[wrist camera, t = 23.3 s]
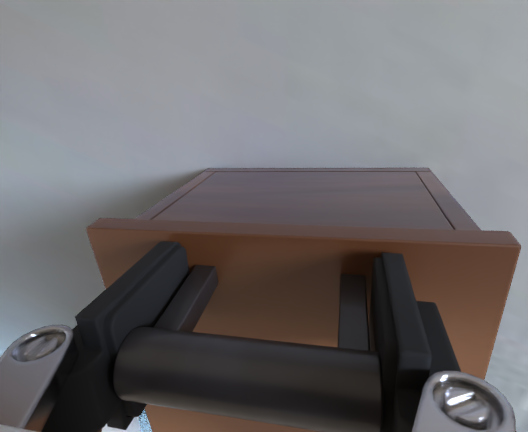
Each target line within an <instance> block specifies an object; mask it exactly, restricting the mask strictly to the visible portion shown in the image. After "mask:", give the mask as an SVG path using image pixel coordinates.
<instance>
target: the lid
mask: <svg viewBox="0 0 528 432" xmlns="http://www.w3.org/2000/svg"><path fill="white" fill-rule="evenodd" d="M86 231H87V234H88V237H89V240H90V243H91V246H92V249H93V252H94V256H95V259H96V262H97V265H98V268H99V271H100V274H101V277H102V280H103V283H104V286H105V289H107V288H108V287H109V286H110V285H112V284H113V283H114V282H115V281H116V280H117V279H118V278H119V277H121V276H122V275H123V274H124V273H125V272H126V271H127V270H128V269H130V268H131V267H132V266H133V265H134V264H135V263H136V262H138V261H139V260H140V259H141V258H142V257H143V256H144V255H145V254H147V253H148V252H149V251H150V250H151V249H152V248H153V247H154V246H156V245H157V244H158V243H159V242H161V241H166V242H179V243H180V245H181V247H184V248H185V249H186V253H187V260H188V267H189V276H188V277H187V279H186V280H185V282H184V283H183V285H182V286H181V288H180V289H179V291H178V292H177V293H176V295H175V296H174V298H173V299H172V301H171V302H170V304H169V305H168V307H167V308H166V310H165V311H164V313H163V314H162V316H161V317H160V318H159V320H158V321H157V323H156V324H155V326H154V327H153V328H152V327H138V328H135V329H134V330H132V331H131V332H130V333H129V334H128V335H127V336H126V338H125V339H124V341H123V342H122V344H121V346H120V348H119V351H118V353H117V356H116V360H115V364H114V369H113V385H114V390H115V392H116V394H117V396H118V397H119V398H121V399H122V400H126V401H132V402H139V403H145V404H147V405H146V407H145V410H146V414H147V417H148V420H149V423H150V426H151V429H152V432H382V428H383V376H382V364H381V358H380V355H379V353H378V352H376V351H370V338H369V317H370V301H371V286H372V270H373V258H374V257H380V258H381V253H400V254H403V257H404V261H405V264H406V267H407V271H408V274H409V278H410V281H411V285H412V288H413V292H414V295H415V299H416V301H425V302H434V303H436V305H437V307H438V310H439V313H440V316H441V318H442V321H443V324H444V326H445V329H446V332H447V334H448V337H449V340H450V342H451V345H452V348H453V351H454V353H455V356H456V359H457V361H458V364H459V367H460V369H461V372H463V373H468V374H471V375H473V376H476V377H478V378H480V379H483V380H484V379H485V375H486V372H487V368H488V364H489V361H490V357H491V354H492V350H493V346H494V343H495V339H496V336H497V332H498V328H499V325H500V321H501V318H502V314H503V310H504V307H505V303H506V300H507V296H508V292H509V289H510V285H511V282H512V278H513V274H514V271H515V267H516V264H517V260H518V256H519V253H520V249H521V245H520V244H519V242H518V241H517V240H516V239H515V238H514V236H513V235H512V234H511V233H510V232H508V231H481V230H451V229H420V228H389V227H359V226H328V225H297V224H267V223H236V222H205V221H174V220H144V219H113V218H99V219H98V220H96V221H95V222H94V223H92V224H91V225H90V226H88V227H87V228H86Z"/></svg>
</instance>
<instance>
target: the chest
mask: <svg viewBox="0 0 528 432" xmlns="http://www.w3.org/2000/svg"><path fill="white" fill-rule="evenodd" d="M135 219H144V220H174V221H205V222H236V223H267V224H297V225H328V226H359V227H389V228H420V229H451V230H481V229H480V228H479V227H478V226H477V225H476V223H475V222H474V221H473V220H472V219H471V217H470V216H469V215H468V214H467V213H466V211H465V210H464V209H463V208H462V207H461V206H460V204H459V203H458V202H457V201H456V200H455V198H454V197H453V196H452V195H451V194H450V192H449V191H448V190H447V189H446V188H445V187H444V185H443V184H442V183H441V182H440V181H439V179H438V178H437V177H436V176H435V175H434V174H433V172H432V171H431V170H430V169H429V168H213V169H207V170H205V171H204V172H203V173H201V174H200V175H198V176H197V177H195V178H194V179H192V180H191V181H189V182H188V183H186V184H185V185H183V186H182V187H181V188H179V189H178V190H176V191H175V192H173V193H172V194H170V195H169V196H167V197H166V198H164V199H163V200H161V201H160V202H158V203H157V204H155V205H154V206H152V207H151V208H150V209H148V210H147V211H145V212H144V213H142V214H141V215H139V216H138V217H136V218H135ZM481 231H482V230H481Z"/></svg>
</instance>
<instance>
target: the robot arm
mask: <svg viewBox="0 0 528 432" xmlns="http://www.w3.org/2000/svg"><path fill="white" fill-rule="evenodd" d="M188 276H189V267H188V260H187V253H186V249H185V248H184V247H181V245H180V243H179V242H166V241H161V242H159V243H158V244H157V245H156V246H154V247H153V248H152V249H151V250H150V251H149V252H148V253H147V254H145V255H144V256H143V257H142V258H141V259H140V260H139V261H138V262H136V263H135V264H134V265H133V266H132V267H131V268H130V269H128V270H127V271H126V272H125V273H124V274H123V275H122V276H121V277H119V278H118V279H117V280H116V281H115V282H114V283H113V284H112V285H110V286H109V287H108V288H107V289H106V290H105V291H104V292H103V293H101V294H100V295H99V296H98V297H97V298H96V299H95V300H93V301H92V302H91V303H90V304H89V305H88V306H87V307H86V308H84V309H83V310H82V311H81V312H80V313H79V314H78V315H77V316H75V318H76V321H77V326H76V327H75V328H73V329H71V328H69V327H68V326H65V325H49V326H44V327H41V328H38V329H35V330H33V331H31V332H29V333H27V334H25V335H23V336H21V337H20V338H18V339H17V340H16V341H14V342H13V343H12V344H11V345H10V346H9V347H8V348H7V350H6V351H5V352H4V353H3V355H2V356H1V357H0V432H102V428H103V427H105V425H106V424H107V426H108V427H112V428H117V429H123V430H126V429H127V428H128V426H129V425H130V423H131V422H132V420H133V418H134V417H138V416H139V415H140V414H141V413H142V412H143V410H144V408H145V407H146V405H147V404H145V403H139V402H132V401H126V400H122V399H121V398H119V397H118V396H117V394H116V392H115V390H114V385H113V369H114V364H115V360H116V356H117V353H118V351H119V348H120V346H121V344H122V342H123V341H124V339H125V338H126V336H127V335H128V334H129V333H130V332H131V331H132V330H134V329H135V328H138V327H152V328H153V327H154V326H155V324H156V323H157V321H158V320H159V318H160V317H161V316H162V314H163V313H164V311H165V310H166V308H167V307H168V305H169V304H170V302H171V301H172V299H173V298H174V296H175V295H176V293H177V292H178V291H179V289H180V288H181V286H182V285H183V283H184V282H185V280H186V279H187V277H188ZM369 338H370V351H376V352H378V353H379V355H380V358H381V364H382V376H383V428H382V432H516V426H515V416H514V412H513V408H512V406H511V405H510V403H509V402H508V400H507V399H506V397H505V396H504V395H503V394H502V393H501V392H500V391H498V390H497V389H496V388H495V387H494V386H492V385H491V384H489V383H488V382H486V381H485V380H483V379H480V378H478V377H476V376H473V375H471V374H468V373H463V372H461V369H460V367H459V364H458V361H457V359H456V356H455V353H454V351H453V348H452V345H451V342H450V340H449V337H448V334H447V332H446V329H445V326H444V324H443V321H442V318H441V316H440V313H439V310H438V307H437V305H436V303H434V302H425V301H416V299H415V295H414V292H413V288H412V285H411V281H410V278H409V274H408V271H407V267H406V264H405V261H404V257H403V254H400V253H381V258H380V257H374V258H373V270H372V286H371V301H370V317H369Z"/></svg>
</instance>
